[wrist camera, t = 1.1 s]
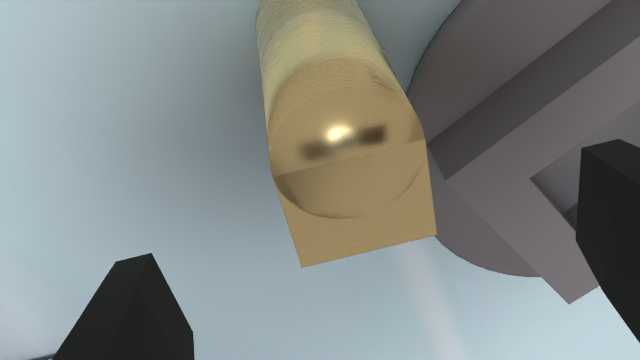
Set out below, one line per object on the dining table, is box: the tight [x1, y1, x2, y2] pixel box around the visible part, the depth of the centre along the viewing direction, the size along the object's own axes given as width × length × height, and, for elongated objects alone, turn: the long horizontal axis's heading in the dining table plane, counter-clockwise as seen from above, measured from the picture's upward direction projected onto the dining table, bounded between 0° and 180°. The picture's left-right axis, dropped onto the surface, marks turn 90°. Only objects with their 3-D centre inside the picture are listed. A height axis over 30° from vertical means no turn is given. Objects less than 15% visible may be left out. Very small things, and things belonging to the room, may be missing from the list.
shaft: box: [256, 0, 437, 268], centre depth 14 cm, size 4×3×7 cm
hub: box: [406, 0, 640, 304], centre depth 19 cm, size 13×13×3 cm
